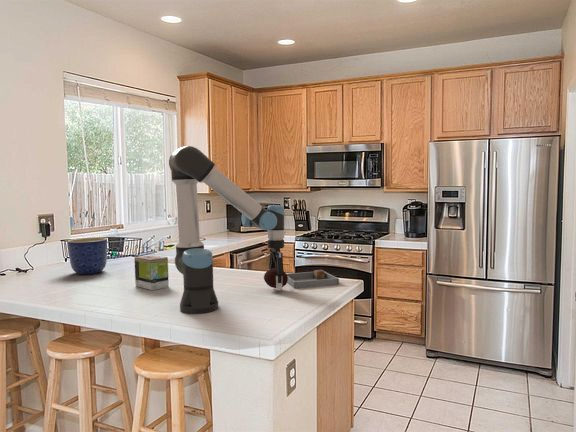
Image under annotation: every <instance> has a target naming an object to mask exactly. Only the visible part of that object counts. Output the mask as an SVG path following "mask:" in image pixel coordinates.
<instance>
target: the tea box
mask: <svg viewBox="0 0 576 432" xmlns="http://www.w3.org/2000/svg"><path fill="white" fill-rule="evenodd" d="M134 280H135V281H134V282H135V287H138V288H141V289H146V290H149V291H153V290H160V289H165V288H169V283H170V282H169V281H170V280H169V257H167V256H161V255H154V254H148V255H147V254H146V255H140V256H134Z"/></svg>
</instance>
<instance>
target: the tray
mask: <svg viewBox="0 0 576 432" xmlns="http://www.w3.org/2000/svg"><path fill="white" fill-rule="evenodd" d="M323 271H324V279H319V280H317V279H315V278H314V271H305V272H294V273H293V272H292V273H286V274H287V277H288V281H287V285H289V286H290V287H291V288H293V289H306V288H317V287H327V286H338V285H340V281H339V280H340V279H339V278H338V277H337V276H334V275H333V274H330V273H328V272H327V271H325V270H323Z"/></svg>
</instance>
